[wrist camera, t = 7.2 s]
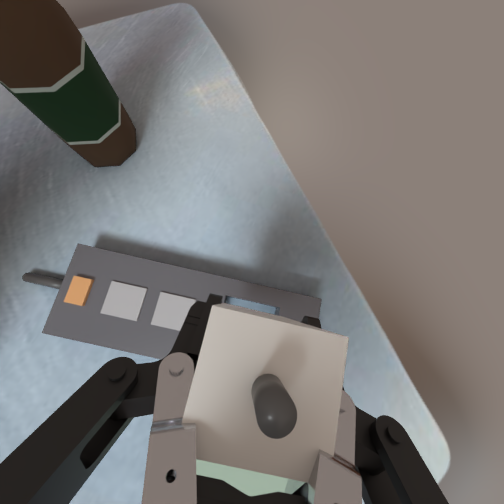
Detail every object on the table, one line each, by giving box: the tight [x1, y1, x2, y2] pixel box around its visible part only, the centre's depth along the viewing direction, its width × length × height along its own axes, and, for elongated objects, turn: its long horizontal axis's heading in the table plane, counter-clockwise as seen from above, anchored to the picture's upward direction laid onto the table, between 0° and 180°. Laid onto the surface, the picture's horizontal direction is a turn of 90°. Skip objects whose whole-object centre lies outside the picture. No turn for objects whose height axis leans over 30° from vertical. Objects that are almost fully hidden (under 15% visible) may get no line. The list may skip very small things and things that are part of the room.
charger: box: [182, 303, 349, 483], centre depth 11 cm, size 5×4×12 cm
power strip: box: [22, 244, 321, 359], centre depth 24 cm, size 32×9×3 cm, turn 77°
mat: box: [196, 459, 288, 496], centre depth 23 cm, size 12×12×1 cm
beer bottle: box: [0, 0, 136, 167], centre depth 18 cm, size 8×8×24 cm
